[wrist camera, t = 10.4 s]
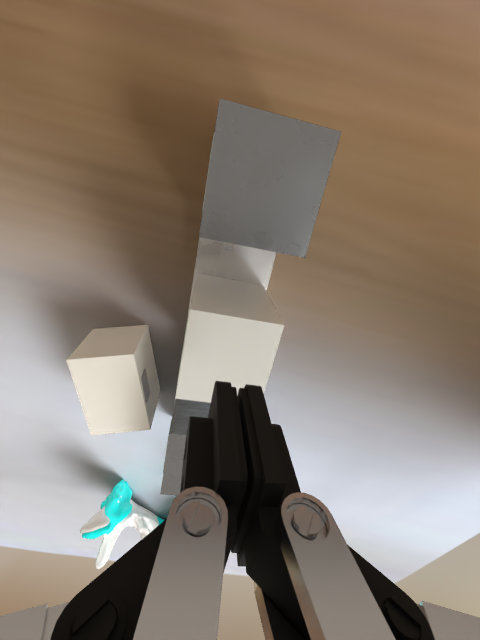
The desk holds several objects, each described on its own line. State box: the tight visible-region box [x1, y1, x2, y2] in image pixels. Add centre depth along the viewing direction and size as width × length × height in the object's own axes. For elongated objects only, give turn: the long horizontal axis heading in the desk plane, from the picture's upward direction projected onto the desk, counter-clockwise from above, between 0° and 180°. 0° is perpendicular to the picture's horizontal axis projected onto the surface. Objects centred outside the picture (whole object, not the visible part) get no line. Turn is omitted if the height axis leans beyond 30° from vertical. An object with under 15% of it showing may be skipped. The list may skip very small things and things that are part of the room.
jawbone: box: [80, 480, 164, 569], centre depth 27 cm, size 12×8×9 cm, turn 86°
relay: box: [66, 325, 160, 435], centre depth 21 cm, size 4×6×4 cm
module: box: [175, 273, 284, 403], centre depth 18 cm, size 5×5×6 cm
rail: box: [161, 99, 341, 495], centre depth 19 cm, size 5×22×8 cm, turn 168°
